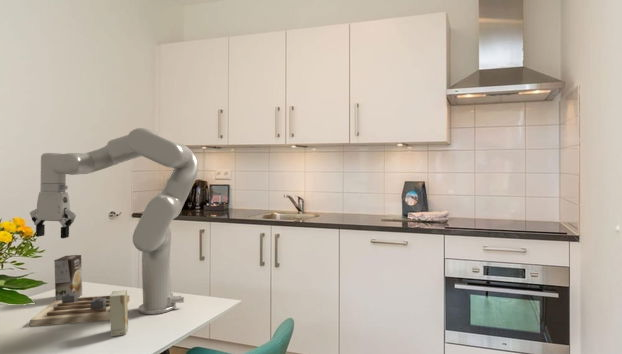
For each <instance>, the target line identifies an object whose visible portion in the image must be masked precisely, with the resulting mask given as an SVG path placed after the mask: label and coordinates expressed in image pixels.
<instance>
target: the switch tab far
mask: <svg viewBox="0 0 622 354" xmlns="http://www.w3.org/2000/svg"><path fill="white" fill-rule="evenodd" d="M78 298H79V297H78V293H73V291H72V292H69V293H67V294H65V295H63V296H62V303H72V302H77V301H78Z"/></svg>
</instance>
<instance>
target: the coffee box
mask: <svg viewBox="0 0 622 354" xmlns="http://www.w3.org/2000/svg"><path fill="white" fill-rule="evenodd" d="M82 273H83V271H82V255H81V254H80V255H79V254H75V255H74V254H72V255H64V256H61V257H59V258H56V259H54V289H55V290H54V292H55V293H54V295H55V301H58V300H62V296H63V295H65V294H67V293H69V292H72V291H73V293H78V298H80V297H81V296H82V295H83V274H82Z"/></svg>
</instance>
